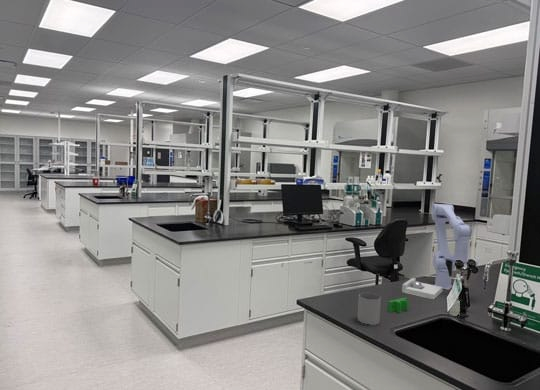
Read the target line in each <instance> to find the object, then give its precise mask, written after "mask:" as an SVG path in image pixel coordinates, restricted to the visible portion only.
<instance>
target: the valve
mask: <svg viewBox="0 0 540 390" xmlns="http://www.w3.org/2000/svg"><path fill="white" fill-rule="evenodd" d="M459 300H460V299H459ZM459 300H456V302H455V303H454V305H453V306H452V307H451V308H450V309H449V314H451V315H453V316H457V315H458V314H459V315H460V311H461V310H460V301H461V300H460V301H459ZM468 309H469V306H467V307H466V310H465V311H467V310H468ZM451 315H450V316H451ZM453 316H452V317H453Z"/></svg>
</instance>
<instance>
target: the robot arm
mask: <svg viewBox="0 0 540 390" xmlns="http://www.w3.org/2000/svg"><path fill="white" fill-rule="evenodd" d="M430 212H431V219H432V221H434V223H435V224H434V225H435V233H436V234H435V235H436V240H437V241H436V243H437V252H436V253H435V254H433V256H432V257H433V258H432V259H433V260H432V266H433V269H435V282H434V284H433V285H435V286H440V287H443V289H442V290H447V291H449V290H451V289H452V287H453V286H452V285H453V284H452V276H453V275H452V274H453V271H454V270H455V269H456V267H455V265H454V263H455V261H456V260H461V261H463V263H464V264H465V265H467V267H466V268H468V264H467V262H468V260H470V259H468V255H469V254H468V252H469V240H470V238H471V237H472V234H473V230H472V229H473V228H472V227H471V224H466V223H465V222H464V221H463V219H462V218H461V217H460V216H457V215H456V214H455V208H454V205H453V204H444V203H442V204H441V203H433V204H432V205H431V211H430ZM446 222H448V223H449V225H450V227H451V229H452V230H453V231H452V232H453V238H454V250H453V251H454V253H453V254H452V253H451V252H450V251H449V245H448V243H449V242H448V237H447V235H448V234H447V227H446ZM474 261H475V262H476V266H475V267H478V264H479V261H477V260H474ZM463 263H462V264H463ZM464 264H463V265H464ZM466 271H467V273H466V280H467V281H469V280H470V276H471V274H472V272H471V270H470V269H466Z"/></svg>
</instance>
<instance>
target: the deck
mask: <svg viewBox="0 0 540 390" xmlns="http://www.w3.org/2000/svg"><path fill="white" fill-rule="evenodd" d="M415 281H417V278H415V277H411V278H409V280H407V281H405V282H404V283H403V284H402V287H401V293H404V294H409V295H413V296H417V297H421V298H425V299H428V300H429V299H430V300H434V301H435V299H436V298H437V297H438V296H439V295H440V294H442V293H443V290H444V289H443V287H440V286H435V285H434V284H429V283H425V282H424V283H423V282H420V283H421V284H422V289H417V288H412V283H413V282H415Z"/></svg>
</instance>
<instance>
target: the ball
mask: <svg viewBox="0 0 540 390" xmlns="http://www.w3.org/2000/svg"><path fill="white" fill-rule="evenodd" d="M421 283H422V282H420V281H417V280H416V281H415V282H413V283H412V288H417V289H422V284H421Z"/></svg>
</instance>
